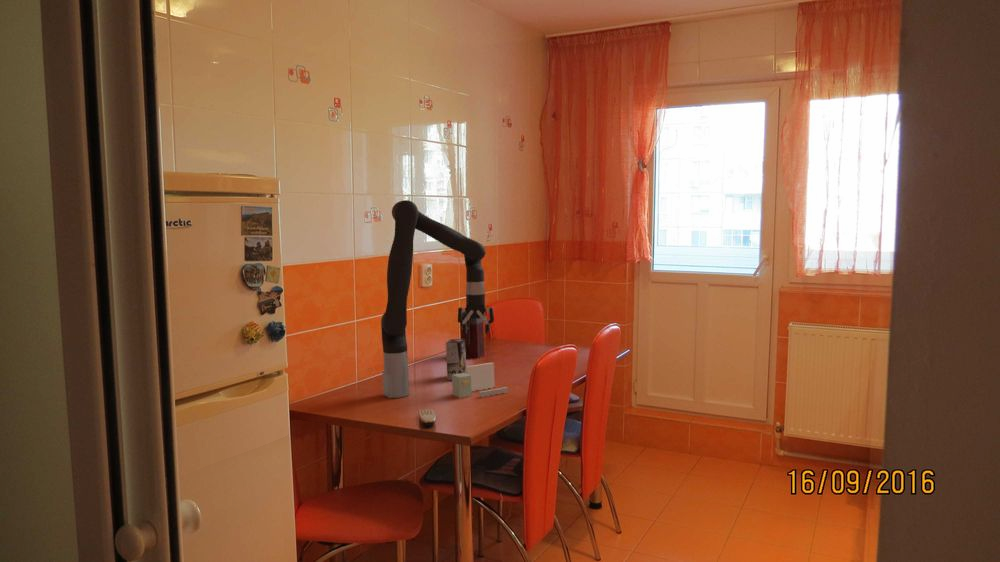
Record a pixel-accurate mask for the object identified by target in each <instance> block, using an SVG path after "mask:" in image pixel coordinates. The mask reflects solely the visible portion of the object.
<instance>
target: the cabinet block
mask: <svg viewBox="0 0 1000 562" xmlns="http://www.w3.org/2000/svg"><path fill="white" fill-rule="evenodd" d="M451 381H452V383H451V384H452V396H454V395H455V396H454V397H456V396H457V398H458V397H459V399H462V398H461V397H464V398H467V397H466V396H470V397H472V396H473V395H472V391H471V375H468V374H466V373H459V374H453V375H452V380H451ZM471 395H472V396H471Z"/></svg>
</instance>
